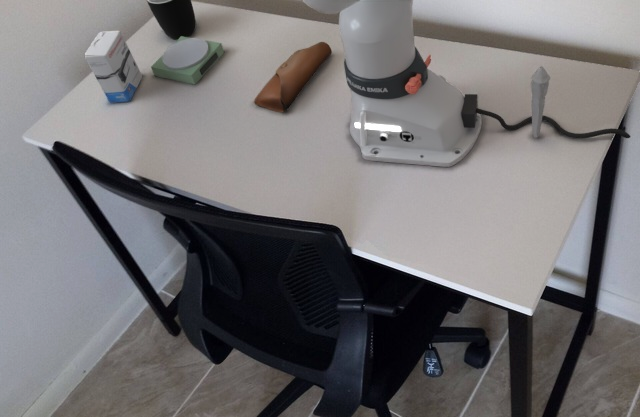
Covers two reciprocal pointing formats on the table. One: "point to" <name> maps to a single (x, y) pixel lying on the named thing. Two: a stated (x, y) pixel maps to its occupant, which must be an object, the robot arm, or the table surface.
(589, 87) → the table surface
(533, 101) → the pen
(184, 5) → the mug
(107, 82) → the ink box
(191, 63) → the scale
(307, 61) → the sunglasses case
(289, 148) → the table surface
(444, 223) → the table surface
